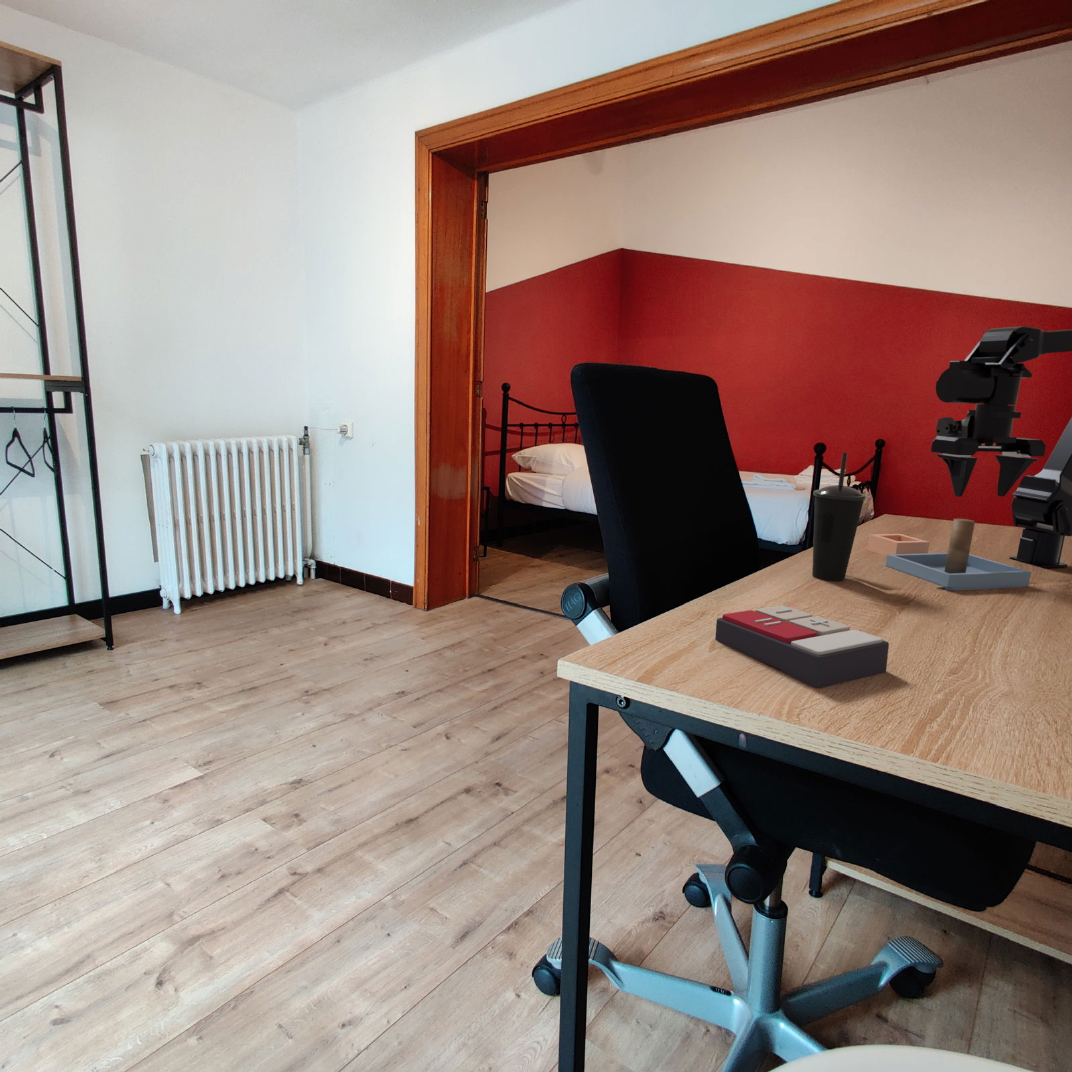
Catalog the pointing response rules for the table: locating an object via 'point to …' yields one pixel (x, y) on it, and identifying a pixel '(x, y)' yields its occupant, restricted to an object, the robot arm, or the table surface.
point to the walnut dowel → (959, 546)
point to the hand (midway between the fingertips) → (979, 496)
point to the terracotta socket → (896, 544)
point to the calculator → (804, 645)
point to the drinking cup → (835, 527)
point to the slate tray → (976, 576)
